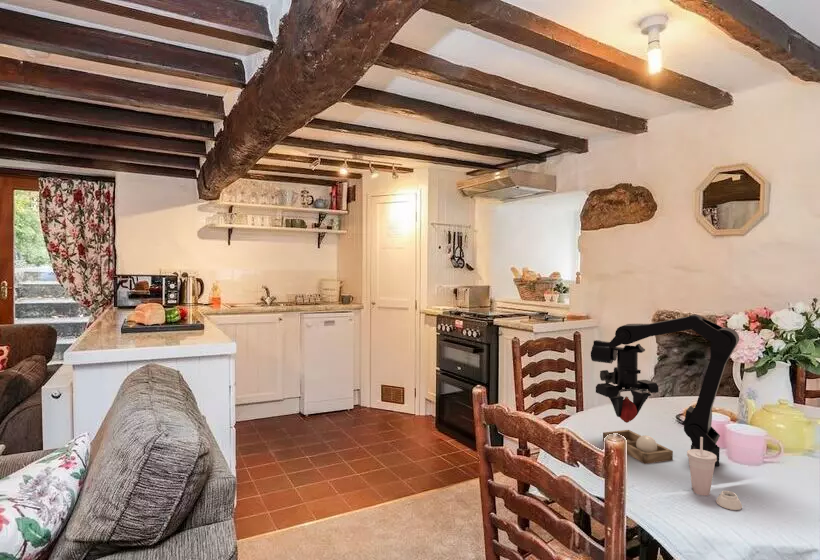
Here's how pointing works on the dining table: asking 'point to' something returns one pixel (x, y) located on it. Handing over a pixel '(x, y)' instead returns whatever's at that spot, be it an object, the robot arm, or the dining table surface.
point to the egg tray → (649, 457)
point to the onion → (628, 410)
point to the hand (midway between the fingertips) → (626, 415)
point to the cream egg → (646, 444)
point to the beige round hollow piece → (729, 500)
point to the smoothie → (701, 469)
